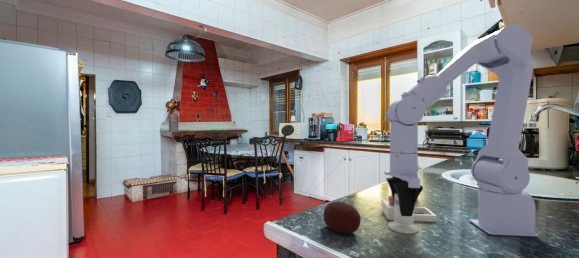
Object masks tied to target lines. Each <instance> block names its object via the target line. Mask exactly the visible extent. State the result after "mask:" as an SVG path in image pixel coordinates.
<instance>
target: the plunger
mask: <svg viewBox="0 0 579 258" xmlns="http://www.w3.org/2000/svg"><path fill="white" fill-rule="evenodd" d="M388 200H389V203H391V204H393V205H394V202H393V196H391V195H389V196H388Z"/></svg>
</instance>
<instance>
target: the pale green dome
mask: <svg viewBox="0 0 579 258" xmlns="http://www.w3.org/2000/svg"><path fill="white" fill-rule="evenodd" d="M387 227H388V229H389V230H391V231H393V232H396V233H400V234H404V235H405V234H406V235H413V234H416V233H419V229H420V228H419V227H418V226H417V224H414V223H413V224H412V225H403V224H399V223H396V222H395V221H394V220H391V221H389V222H388V223H387Z"/></svg>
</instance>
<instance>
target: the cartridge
mask: <svg viewBox="0 0 579 258" xmlns="http://www.w3.org/2000/svg"><path fill="white" fill-rule="evenodd" d="M414 214H415V213H414V211H413V214H412V216H402V215H401V213H400V207H399V199H398V195H397V193H395V195H394V220H393V221H395V222H396V223H399V224H403V225H412V224H414V221H413V215H414Z"/></svg>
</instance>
